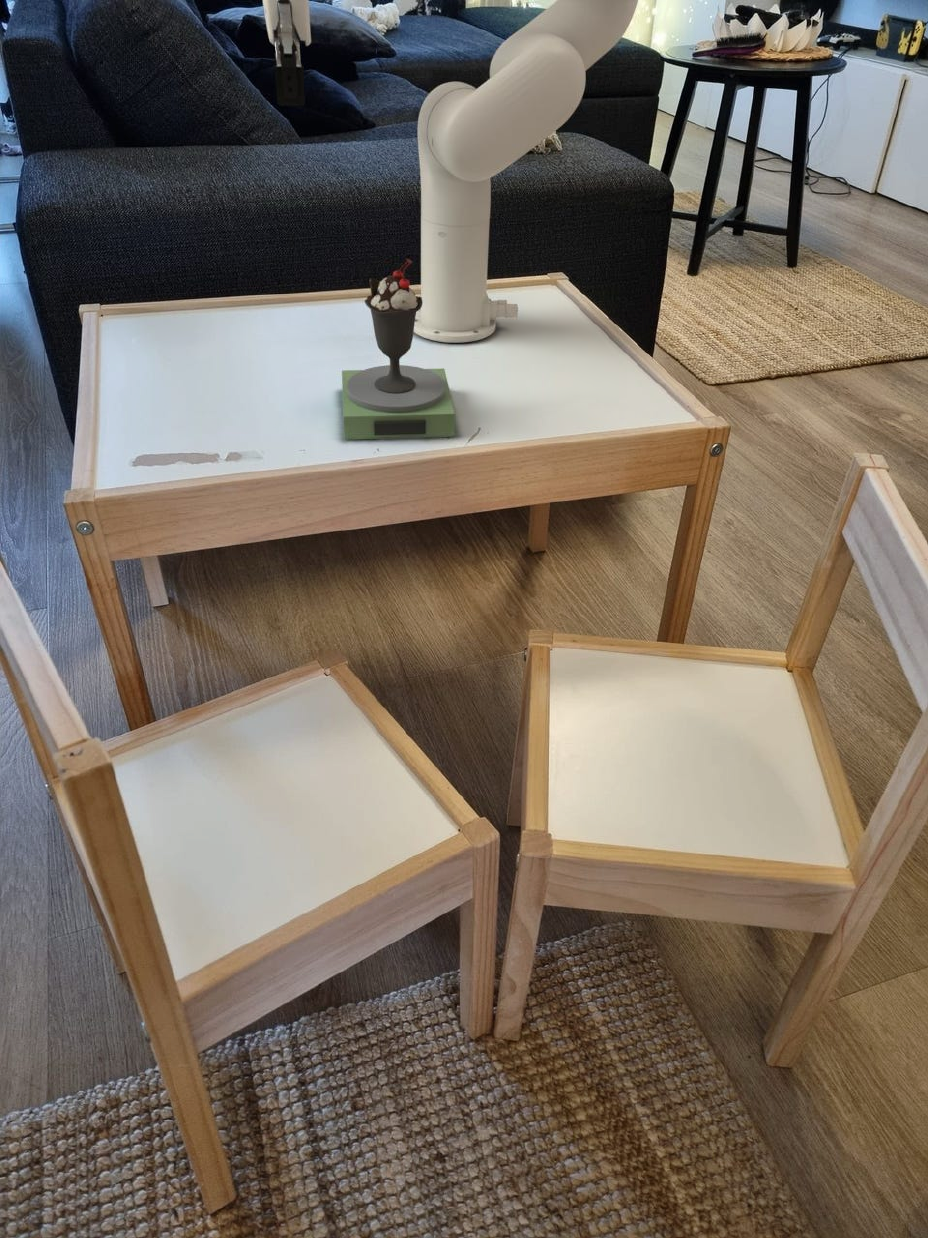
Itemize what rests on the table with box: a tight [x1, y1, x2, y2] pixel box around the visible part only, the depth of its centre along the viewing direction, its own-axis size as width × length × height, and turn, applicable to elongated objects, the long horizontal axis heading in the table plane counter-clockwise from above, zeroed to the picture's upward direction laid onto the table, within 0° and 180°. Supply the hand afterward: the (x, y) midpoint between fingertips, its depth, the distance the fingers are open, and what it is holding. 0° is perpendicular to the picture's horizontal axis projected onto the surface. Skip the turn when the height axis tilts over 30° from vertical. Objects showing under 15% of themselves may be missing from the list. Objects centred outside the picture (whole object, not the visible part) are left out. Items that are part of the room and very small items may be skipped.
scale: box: [341, 364, 456, 441], centre depth 112 cm, size 13×14×4 cm
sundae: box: [363, 258, 423, 393], centre depth 106 cm, size 7×7×15 cm
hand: (290, 97), depth 113 cm, fingers open, 9 cm apart
